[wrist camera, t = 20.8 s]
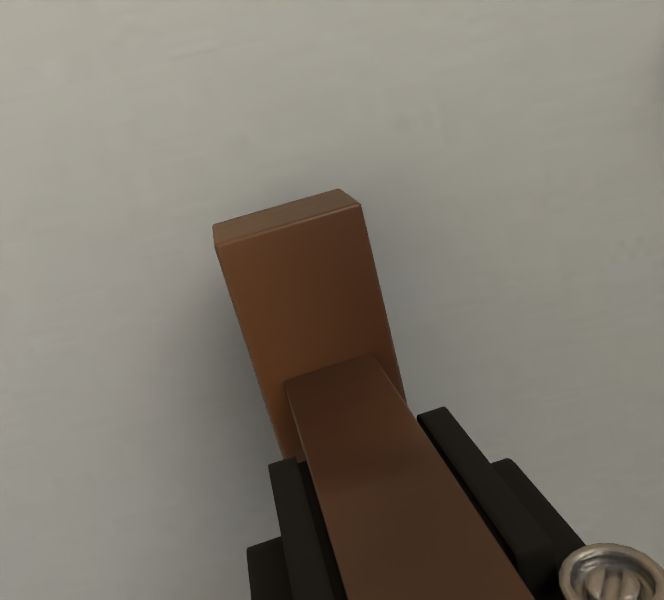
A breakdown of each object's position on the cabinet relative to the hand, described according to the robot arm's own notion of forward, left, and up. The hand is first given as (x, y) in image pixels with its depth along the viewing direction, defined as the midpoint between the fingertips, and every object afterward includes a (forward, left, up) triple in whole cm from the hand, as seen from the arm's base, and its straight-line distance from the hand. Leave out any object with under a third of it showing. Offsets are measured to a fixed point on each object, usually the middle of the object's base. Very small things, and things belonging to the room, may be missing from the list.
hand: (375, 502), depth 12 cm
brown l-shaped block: (0, 0, -5) cm, 5 cm away
